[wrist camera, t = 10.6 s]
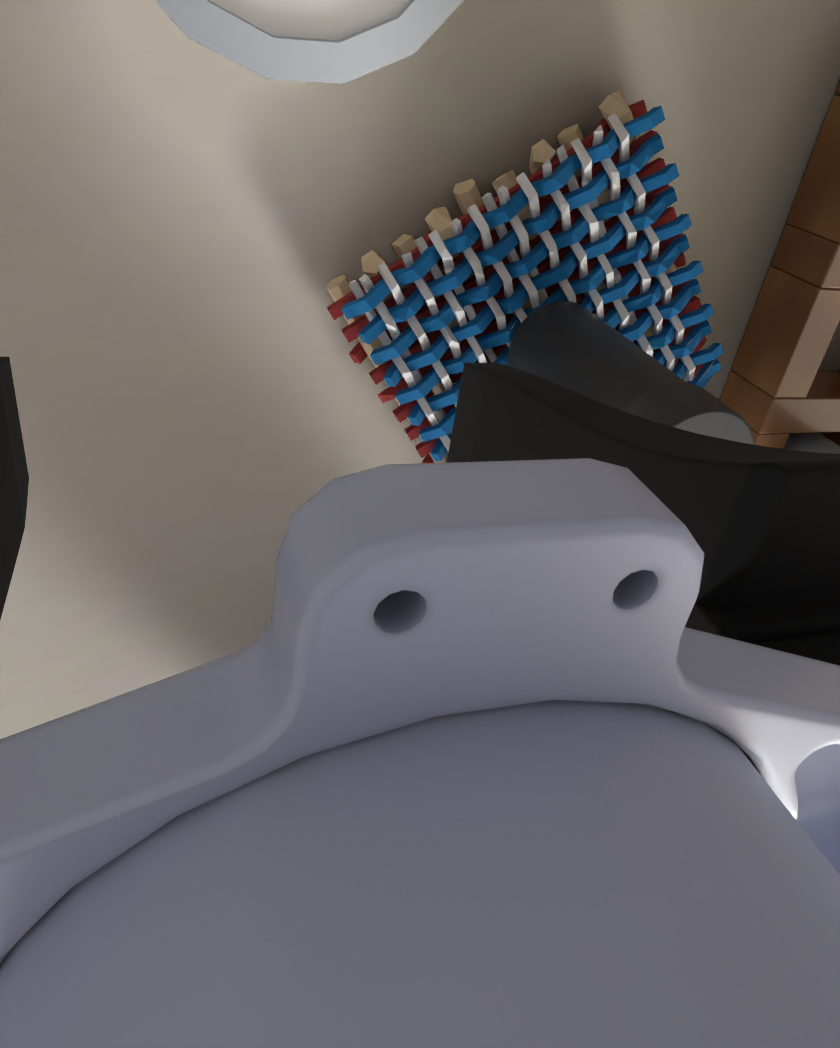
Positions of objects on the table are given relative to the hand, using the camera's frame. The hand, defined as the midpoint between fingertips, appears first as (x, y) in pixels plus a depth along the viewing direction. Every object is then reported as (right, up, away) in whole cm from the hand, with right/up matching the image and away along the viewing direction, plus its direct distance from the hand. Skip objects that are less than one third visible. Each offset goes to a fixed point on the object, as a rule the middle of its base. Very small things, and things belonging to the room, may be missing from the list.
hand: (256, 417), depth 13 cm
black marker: (+7, +4, +11) cm, 13 cm away
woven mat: (+6, +5, +13) cm, 15 cm away
